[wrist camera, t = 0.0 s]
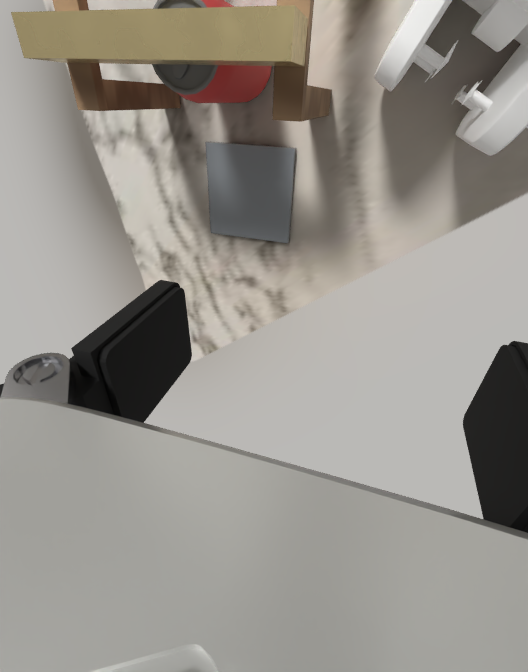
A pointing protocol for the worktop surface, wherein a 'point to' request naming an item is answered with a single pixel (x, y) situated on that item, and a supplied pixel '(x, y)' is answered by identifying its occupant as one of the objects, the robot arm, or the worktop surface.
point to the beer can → (211, 71)
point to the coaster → (250, 190)
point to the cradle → (103, 95)
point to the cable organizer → (497, 99)
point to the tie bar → (167, 36)
